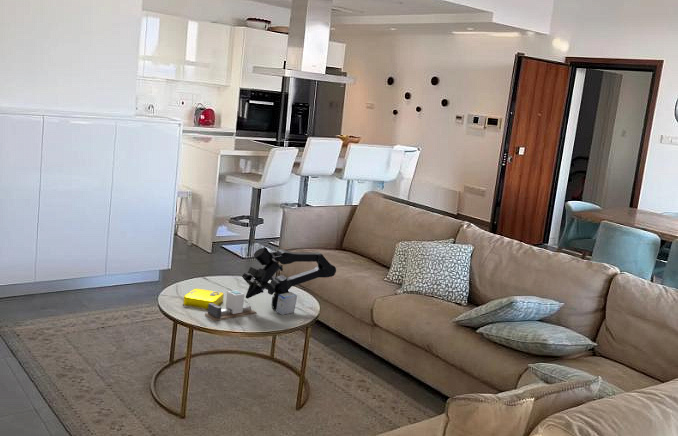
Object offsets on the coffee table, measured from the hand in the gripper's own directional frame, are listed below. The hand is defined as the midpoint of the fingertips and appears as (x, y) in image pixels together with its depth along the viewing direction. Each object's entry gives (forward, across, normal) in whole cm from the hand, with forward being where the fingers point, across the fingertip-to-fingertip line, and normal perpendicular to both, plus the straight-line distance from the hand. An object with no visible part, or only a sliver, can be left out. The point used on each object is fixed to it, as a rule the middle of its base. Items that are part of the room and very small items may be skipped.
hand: (246, 297), depth 310 cm
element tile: (+12, -18, -2) cm, 22 cm away
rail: (+10, 0, -1) cm, 10 cm away
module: (+8, 0, -1) cm, 8 cm away
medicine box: (-7, +8, +16) cm, 20 cm away
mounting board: (+10, 0, -1) cm, 10 cm away
